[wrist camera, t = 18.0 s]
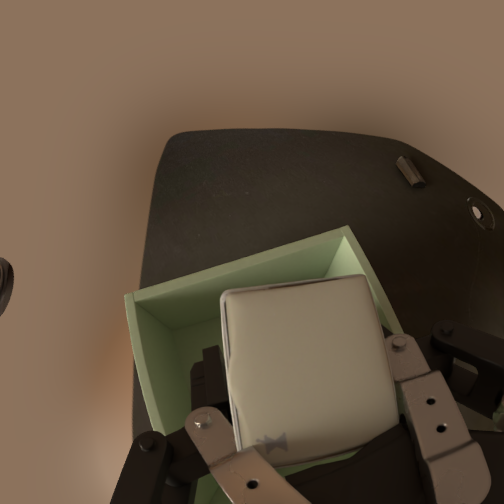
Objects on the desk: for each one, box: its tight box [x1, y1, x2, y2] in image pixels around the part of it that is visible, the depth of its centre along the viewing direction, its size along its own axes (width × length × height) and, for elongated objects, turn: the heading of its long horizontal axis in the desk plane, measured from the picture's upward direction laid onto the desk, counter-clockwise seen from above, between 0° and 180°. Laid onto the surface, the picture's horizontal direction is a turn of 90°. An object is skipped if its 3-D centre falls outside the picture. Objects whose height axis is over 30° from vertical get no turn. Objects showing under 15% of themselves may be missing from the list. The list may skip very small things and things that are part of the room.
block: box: [396, 157, 426, 188], centre depth 35 cm, size 4×6×2 cm, turn 9°
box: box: [220, 274, 399, 469], centre depth 11 cm, size 5×4×11 cm
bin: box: [124, 225, 404, 504], centre depth 19 cm, size 18×18×10 cm
